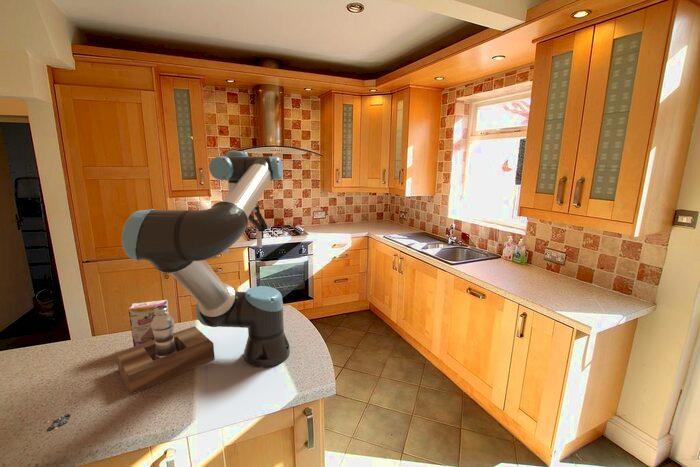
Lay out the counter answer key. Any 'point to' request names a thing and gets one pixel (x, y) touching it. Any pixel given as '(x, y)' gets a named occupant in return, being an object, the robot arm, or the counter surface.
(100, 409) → the counter surface
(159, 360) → the bottle caddy
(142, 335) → the candy bar box
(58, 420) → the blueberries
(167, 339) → the plastic bottle
